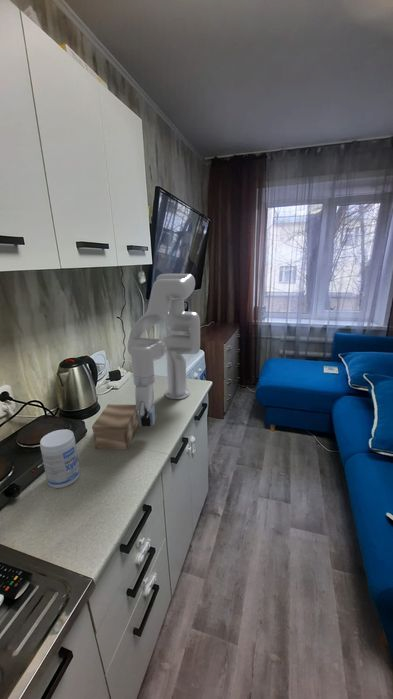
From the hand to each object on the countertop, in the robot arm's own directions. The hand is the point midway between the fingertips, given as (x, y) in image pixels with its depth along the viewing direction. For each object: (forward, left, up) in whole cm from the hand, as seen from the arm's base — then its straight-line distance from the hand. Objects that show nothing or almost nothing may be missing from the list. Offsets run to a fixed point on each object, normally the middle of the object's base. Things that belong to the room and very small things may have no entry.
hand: (147, 421), depth 108 cm
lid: (0, -12, +1) cm, 12 cm away
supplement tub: (+23, -22, -7) cm, 33 cm away
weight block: (0, 0, -1) cm, 1 cm away
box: (0, -12, -7) cm, 14 cm away
